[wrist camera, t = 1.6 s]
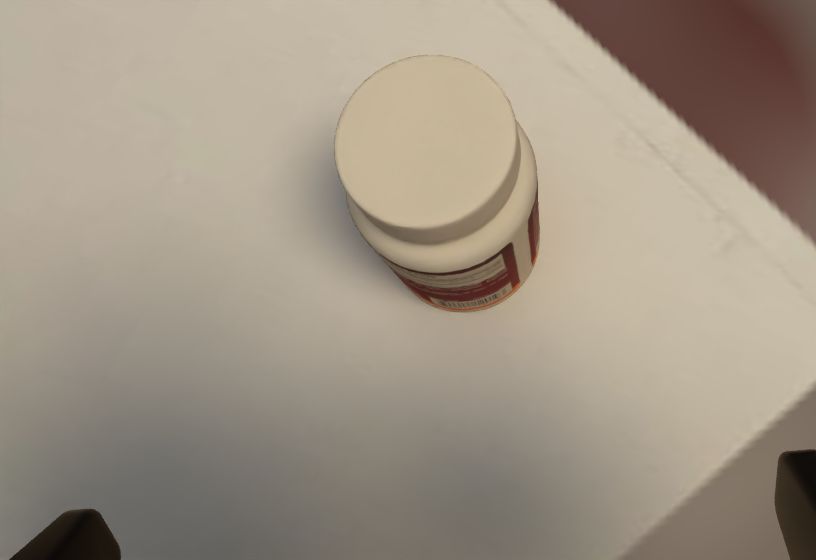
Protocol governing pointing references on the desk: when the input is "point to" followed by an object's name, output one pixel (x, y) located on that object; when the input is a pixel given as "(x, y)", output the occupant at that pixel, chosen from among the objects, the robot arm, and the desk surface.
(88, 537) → the robot arm
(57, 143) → the desk surface
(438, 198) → the pill bottle
